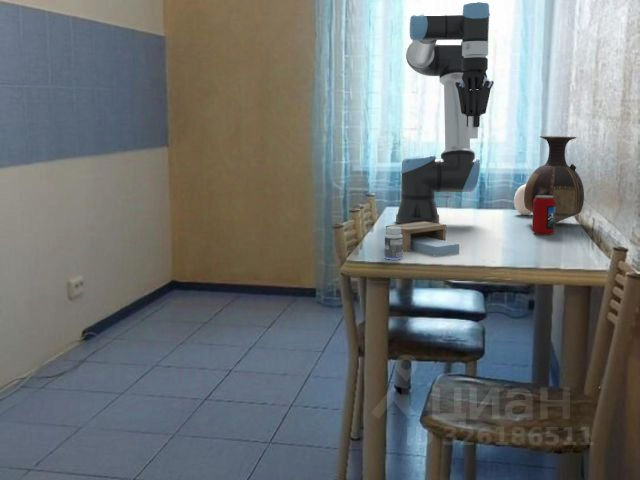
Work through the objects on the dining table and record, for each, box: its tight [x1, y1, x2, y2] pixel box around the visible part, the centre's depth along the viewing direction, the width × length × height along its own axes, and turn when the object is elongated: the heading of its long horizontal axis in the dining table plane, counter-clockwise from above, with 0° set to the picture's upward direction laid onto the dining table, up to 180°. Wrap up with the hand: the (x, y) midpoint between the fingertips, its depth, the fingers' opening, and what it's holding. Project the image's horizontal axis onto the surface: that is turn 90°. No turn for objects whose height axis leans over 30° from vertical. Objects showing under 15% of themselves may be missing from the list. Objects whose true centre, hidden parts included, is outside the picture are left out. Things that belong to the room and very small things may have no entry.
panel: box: [410, 236, 460, 257], centre depth 213 cm, size 15×8×3 cm, turn 31°
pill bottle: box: [384, 225, 403, 261], centre depth 201 cm, size 5×5×8 cm
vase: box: [524, 135, 585, 224], centre depth 256 cm, size 23×19×30 cm
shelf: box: [385, 221, 447, 253], centre depth 218 cm, size 9×15×6 cm, turn 127°
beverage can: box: [531, 195, 556, 236], centre depth 239 cm, size 7×7×12 cm
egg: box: [513, 183, 533, 216], centre depth 282 cm, size 9×9×11 cm
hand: (472, 138), depth 226 cm, fingers closed
